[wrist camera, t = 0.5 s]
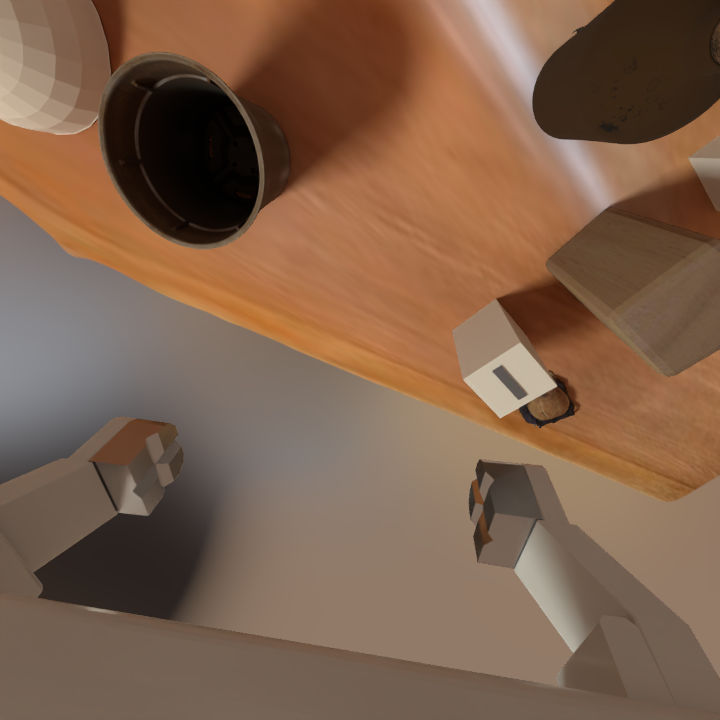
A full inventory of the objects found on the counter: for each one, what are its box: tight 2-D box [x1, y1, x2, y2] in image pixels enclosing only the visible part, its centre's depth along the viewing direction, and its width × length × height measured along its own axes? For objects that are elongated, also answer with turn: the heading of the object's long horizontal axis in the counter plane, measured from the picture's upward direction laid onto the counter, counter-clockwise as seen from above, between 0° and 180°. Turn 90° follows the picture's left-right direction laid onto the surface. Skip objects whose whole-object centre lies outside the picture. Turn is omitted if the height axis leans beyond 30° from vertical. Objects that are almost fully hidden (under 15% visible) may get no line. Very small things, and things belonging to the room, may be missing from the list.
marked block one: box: [452, 299, 557, 418], centre depth 50 cm, size 8×8×14 cm
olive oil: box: [532, 0, 720, 144], centre depth 29 cm, size 11×11×25 cm
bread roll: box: [519, 371, 575, 428], centre depth 60 cm, size 11×8×4 cm
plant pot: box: [98, 52, 290, 249], centre depth 41 cm, size 16×16×16 cm
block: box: [546, 208, 720, 377], centre depth 40 cm, size 10×10×20 cm
